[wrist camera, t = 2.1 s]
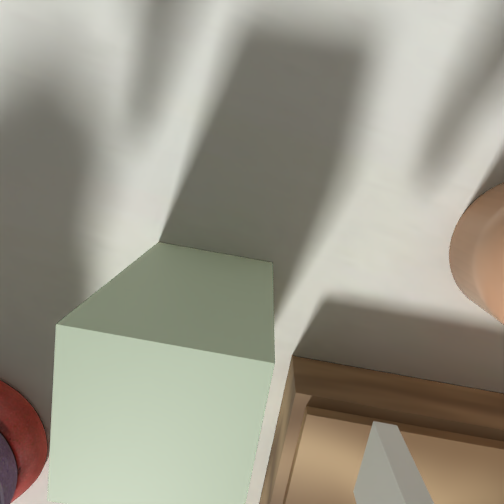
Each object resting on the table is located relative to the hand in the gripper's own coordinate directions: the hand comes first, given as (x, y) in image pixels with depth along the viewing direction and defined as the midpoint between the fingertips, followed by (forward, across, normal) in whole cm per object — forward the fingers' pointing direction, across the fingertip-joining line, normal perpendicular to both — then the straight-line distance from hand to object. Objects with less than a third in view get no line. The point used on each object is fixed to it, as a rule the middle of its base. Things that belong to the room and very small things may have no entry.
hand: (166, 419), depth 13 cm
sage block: (+9, 0, 0) cm, 9 cm away
